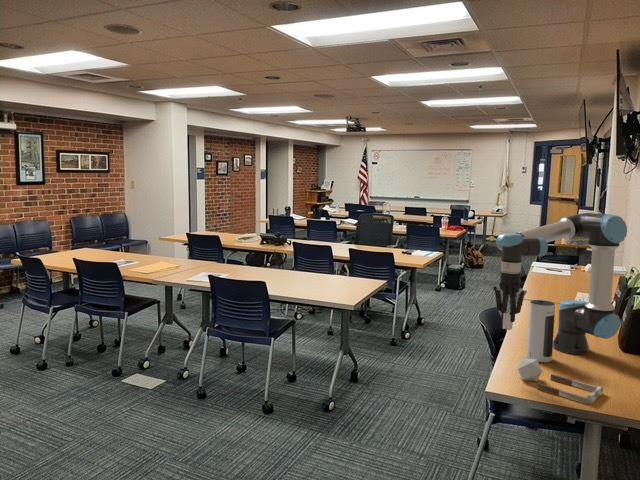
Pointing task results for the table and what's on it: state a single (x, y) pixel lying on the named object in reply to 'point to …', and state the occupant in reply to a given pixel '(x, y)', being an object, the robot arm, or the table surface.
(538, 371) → the die
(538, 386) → the grey brown u-shaped frame
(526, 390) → the table surface
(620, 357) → the table surface
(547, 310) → the speaker
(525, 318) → the table surface
